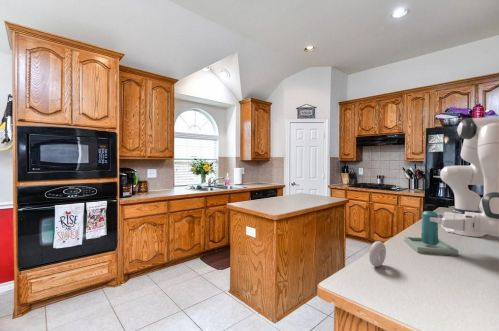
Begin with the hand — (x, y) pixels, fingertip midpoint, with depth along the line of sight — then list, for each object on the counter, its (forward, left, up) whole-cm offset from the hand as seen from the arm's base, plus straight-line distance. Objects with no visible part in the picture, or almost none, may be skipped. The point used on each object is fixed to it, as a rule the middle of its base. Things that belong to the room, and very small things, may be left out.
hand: (430, 217), depth 118 cm
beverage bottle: (0, 0, -14) cm, 14 cm away
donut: (+28, -30, -15) cm, 43 cm away
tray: (0, 0, -15) cm, 15 cm away
